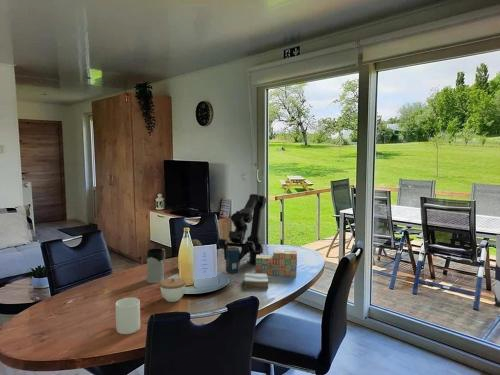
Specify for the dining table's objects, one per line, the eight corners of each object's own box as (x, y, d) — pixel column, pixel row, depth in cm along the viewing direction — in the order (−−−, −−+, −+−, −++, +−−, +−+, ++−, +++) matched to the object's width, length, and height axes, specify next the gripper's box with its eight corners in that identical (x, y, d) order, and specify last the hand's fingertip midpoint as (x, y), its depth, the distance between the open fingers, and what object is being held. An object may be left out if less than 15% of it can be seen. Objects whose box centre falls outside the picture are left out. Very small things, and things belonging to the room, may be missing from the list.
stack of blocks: (255, 275, 194) (255, 252, 192) (256, 271, 200) (256, 249, 198) (296, 276, 192) (297, 253, 190) (296, 272, 198) (296, 250, 197)
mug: (106, 326, 136) (105, 299, 135) (127, 318, 143) (126, 293, 142) (124, 337, 129) (123, 309, 127) (144, 329, 135) (144, 301, 134)
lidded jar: (182, 293, 169) (182, 273, 168) (187, 302, 159) (187, 280, 158) (158, 296, 165) (158, 275, 164) (162, 305, 155) (161, 284, 154)
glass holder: (143, 281, 182) (142, 252, 181) (157, 272, 196) (157, 244, 194) (159, 283, 180) (158, 253, 178) (172, 274, 193) (172, 246, 192)
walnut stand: (244, 280, 186) (244, 273, 185) (266, 280, 186) (266, 273, 186) (244, 288, 175) (244, 281, 175) (268, 288, 175) (268, 281, 175)
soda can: (224, 270, 185) (224, 247, 184) (238, 269, 186) (238, 246, 185) (227, 275, 178) (227, 251, 177) (241, 274, 180) (241, 250, 178)
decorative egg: (205, 262, 213) (205, 237, 212) (203, 268, 203) (202, 242, 201) (187, 262, 214) (187, 237, 212) (183, 268, 203) (183, 241, 201)
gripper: (218, 222, 186) (209, 250, 177) (253, 225, 180) (246, 254, 171) (224, 234, 195) (216, 261, 186) (258, 237, 189) (251, 265, 180)
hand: (231, 260), depth 180 cm, fingers closed on soda can, 7 cm apart
